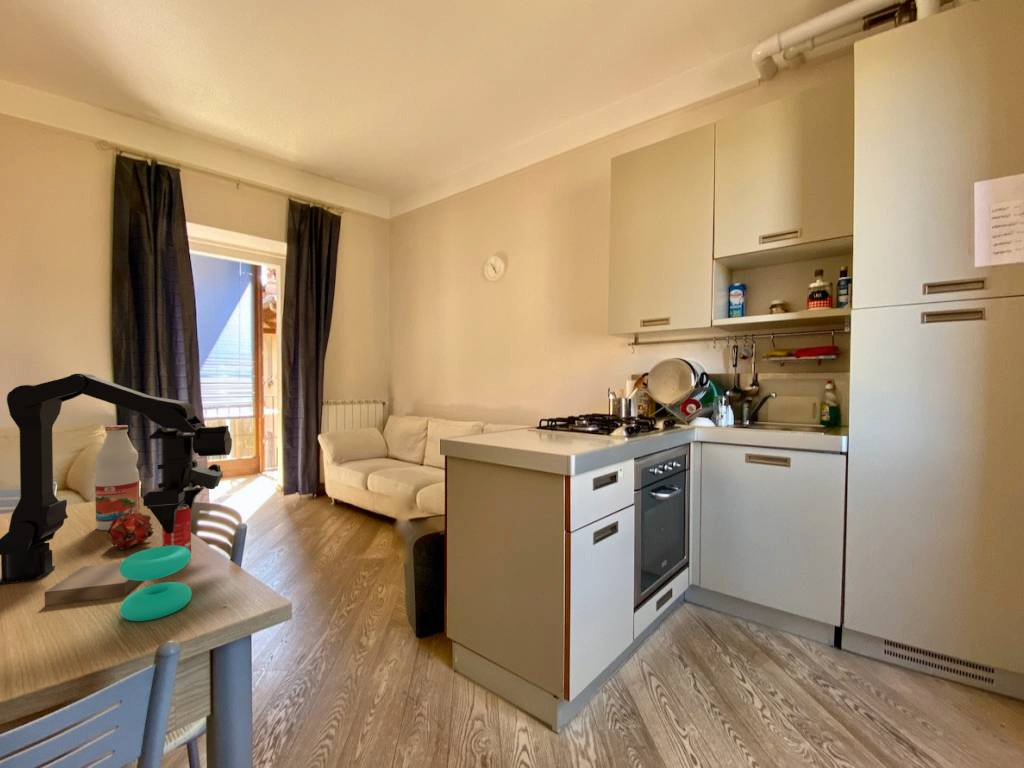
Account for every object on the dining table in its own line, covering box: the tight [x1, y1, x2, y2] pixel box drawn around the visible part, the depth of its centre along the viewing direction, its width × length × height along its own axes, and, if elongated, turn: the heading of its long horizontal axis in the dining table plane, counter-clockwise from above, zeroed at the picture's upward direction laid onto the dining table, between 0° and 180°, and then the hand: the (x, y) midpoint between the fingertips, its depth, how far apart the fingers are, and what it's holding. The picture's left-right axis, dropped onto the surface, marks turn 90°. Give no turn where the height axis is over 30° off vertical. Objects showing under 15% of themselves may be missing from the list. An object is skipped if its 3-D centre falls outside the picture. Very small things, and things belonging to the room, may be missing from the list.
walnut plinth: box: [44, 561, 142, 607], centre depth 90 cm, size 12×12×2 cm
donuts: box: [119, 545, 193, 622], centre depth 81 cm, size 10×10×10 cm
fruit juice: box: [94, 424, 141, 531], centre depth 129 cm, size 9×9×28 cm
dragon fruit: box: [106, 511, 155, 550], centre depth 113 cm, size 8×8×12 cm
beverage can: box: [161, 504, 192, 553], centre depth 103 cm, size 5×5×12 cm
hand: (178, 526), depth 103 cm, fingers open, 9 cm apart
